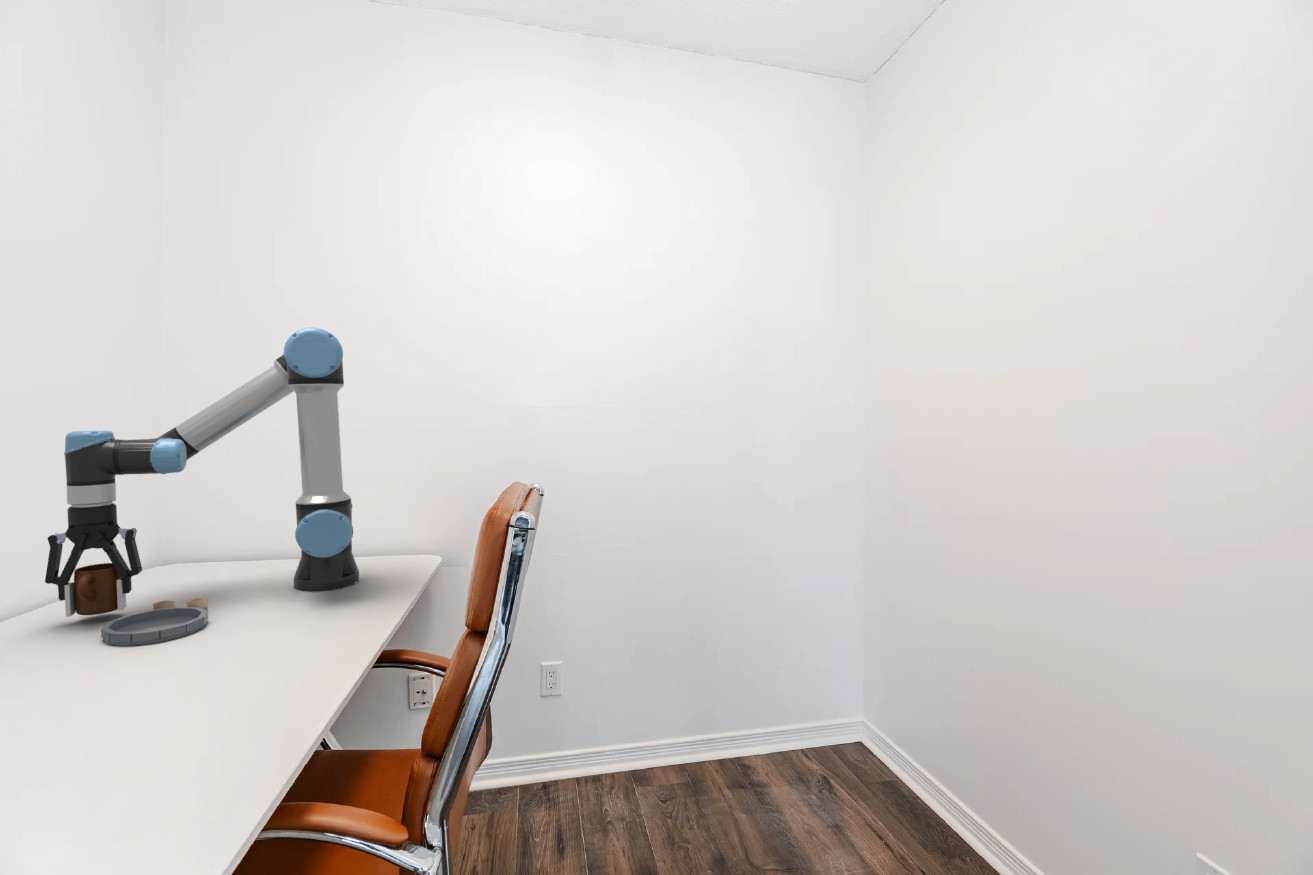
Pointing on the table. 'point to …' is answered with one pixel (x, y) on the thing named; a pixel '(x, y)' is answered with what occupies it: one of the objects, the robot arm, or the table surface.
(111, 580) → the mug
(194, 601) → the bead
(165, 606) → the bead
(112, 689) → the table surface
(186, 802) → the table surface
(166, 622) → the saucer
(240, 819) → the table surface
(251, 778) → the table surface
